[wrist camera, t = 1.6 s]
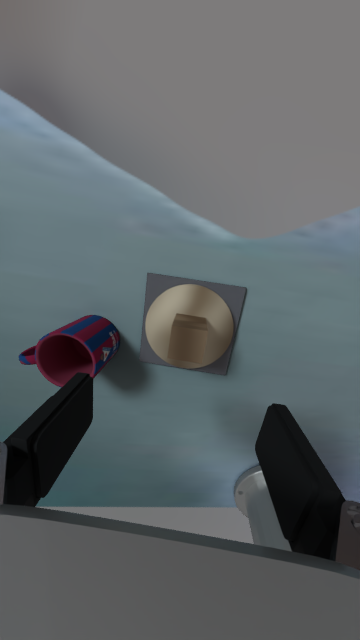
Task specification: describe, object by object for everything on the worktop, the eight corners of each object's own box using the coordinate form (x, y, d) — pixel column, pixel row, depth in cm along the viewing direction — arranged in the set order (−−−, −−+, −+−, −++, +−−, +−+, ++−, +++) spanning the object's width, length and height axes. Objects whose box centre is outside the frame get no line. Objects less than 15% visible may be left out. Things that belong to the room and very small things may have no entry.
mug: (121, 361, 28) (98, 391, 21) (53, 356, 28) (11, 384, 22) (119, 316, 26) (93, 334, 19) (46, 312, 26) (-2, 327, 20)
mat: (245, 287, 24) (246, 287, 23) (225, 373, 27) (225, 375, 27) (148, 272, 24) (147, 272, 24) (140, 359, 27) (139, 361, 27)
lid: (241, 291, 23) (255, 300, 18) (222, 371, 27) (229, 400, 21) (151, 277, 24) (137, 281, 18) (143, 358, 27) (129, 383, 21)
